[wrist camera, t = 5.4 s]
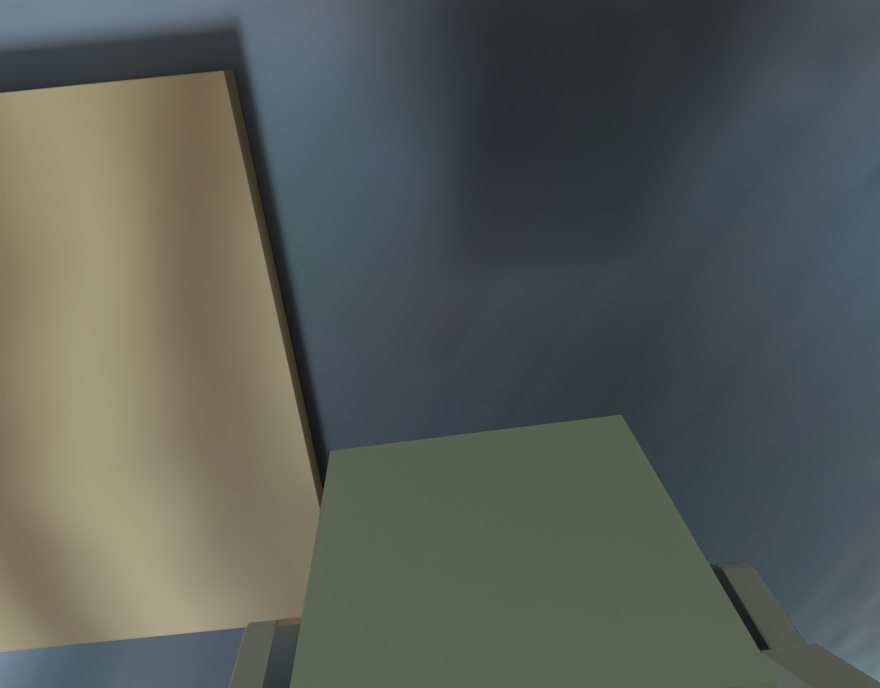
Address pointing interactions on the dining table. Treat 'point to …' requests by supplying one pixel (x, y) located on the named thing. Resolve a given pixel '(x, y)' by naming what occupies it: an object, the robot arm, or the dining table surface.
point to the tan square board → (144, 371)
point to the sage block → (513, 570)
